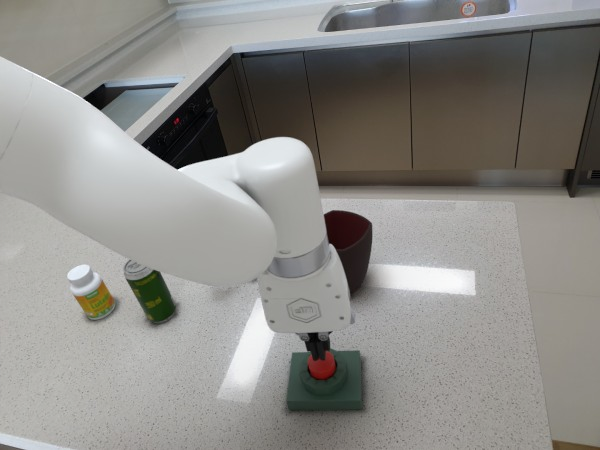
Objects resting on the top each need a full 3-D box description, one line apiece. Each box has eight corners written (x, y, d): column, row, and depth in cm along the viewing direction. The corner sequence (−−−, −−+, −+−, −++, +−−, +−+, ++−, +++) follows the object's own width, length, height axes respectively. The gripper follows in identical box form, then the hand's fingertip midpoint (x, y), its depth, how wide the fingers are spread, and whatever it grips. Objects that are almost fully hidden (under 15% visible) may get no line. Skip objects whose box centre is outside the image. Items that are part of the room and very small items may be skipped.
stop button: (336, 357, 65) (334, 349, 64) (335, 379, 62) (333, 371, 61) (310, 357, 65) (308, 350, 64) (308, 380, 62) (306, 372, 61)
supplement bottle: (99, 324, 83) (75, 286, 78) (81, 315, 86) (56, 278, 80) (122, 303, 87) (100, 265, 81) (103, 295, 90) (81, 258, 84)
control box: (361, 359, 68) (358, 342, 66) (361, 409, 62) (359, 392, 59) (294, 361, 70) (289, 344, 67) (289, 410, 63) (283, 393, 61)
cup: (353, 311, 76) (345, 256, 68) (290, 282, 84) (277, 230, 77) (385, 274, 81) (380, 220, 74) (322, 250, 89) (313, 199, 82)
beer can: (169, 297, 86) (145, 249, 79) (182, 312, 82) (159, 262, 75) (143, 314, 84) (116, 265, 76) (155, 329, 80) (128, 280, 73)
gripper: (222, 276, 49) (261, 377, 60) (364, 267, 46) (377, 374, 57) (236, 232, 55) (269, 331, 66) (362, 221, 52) (375, 327, 63)
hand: (319, 351), depth 61 cm, fingers closed
